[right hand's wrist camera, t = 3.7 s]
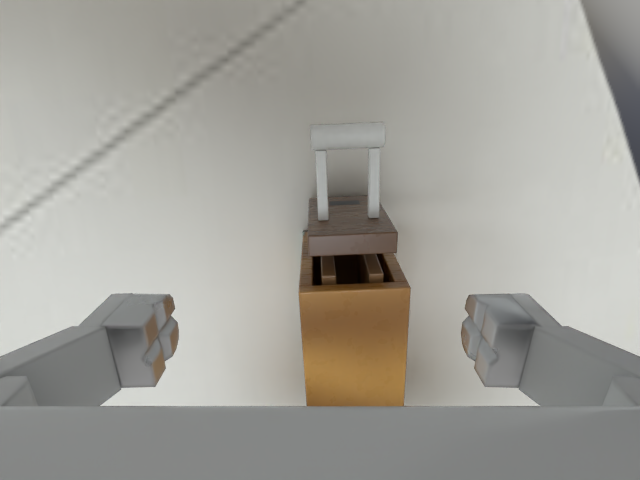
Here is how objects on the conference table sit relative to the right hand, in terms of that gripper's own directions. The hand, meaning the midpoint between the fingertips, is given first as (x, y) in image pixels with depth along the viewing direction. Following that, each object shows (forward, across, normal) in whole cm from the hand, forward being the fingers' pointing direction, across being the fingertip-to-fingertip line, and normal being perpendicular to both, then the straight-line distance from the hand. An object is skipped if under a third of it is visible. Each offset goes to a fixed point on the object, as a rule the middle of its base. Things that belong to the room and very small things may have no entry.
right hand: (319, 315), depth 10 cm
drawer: (+16, +2, -7) cm, 18 cm away
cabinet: (+17, +2, -13) cm, 21 cm away
